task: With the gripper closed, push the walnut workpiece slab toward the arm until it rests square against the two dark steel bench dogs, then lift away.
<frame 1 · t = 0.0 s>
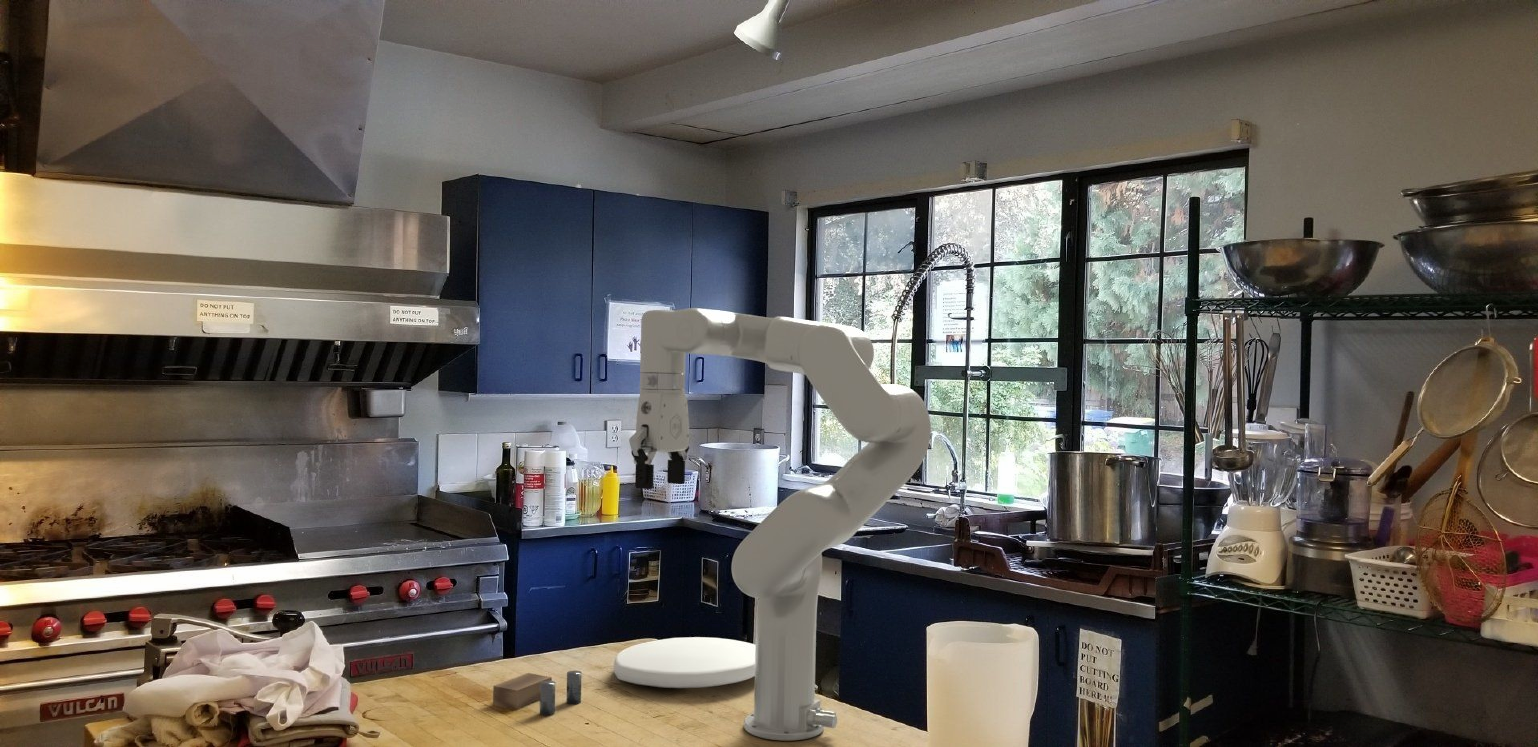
hand: (660, 485, 184), 37 cm above the countertop, tool pointing down, fingers open, 9 cm apart
workpiece: (522, 701, 185), on the countertop
plate: (690, 678, 201), on the countertop
bench dogs: (560, 707, 181), on the countertop
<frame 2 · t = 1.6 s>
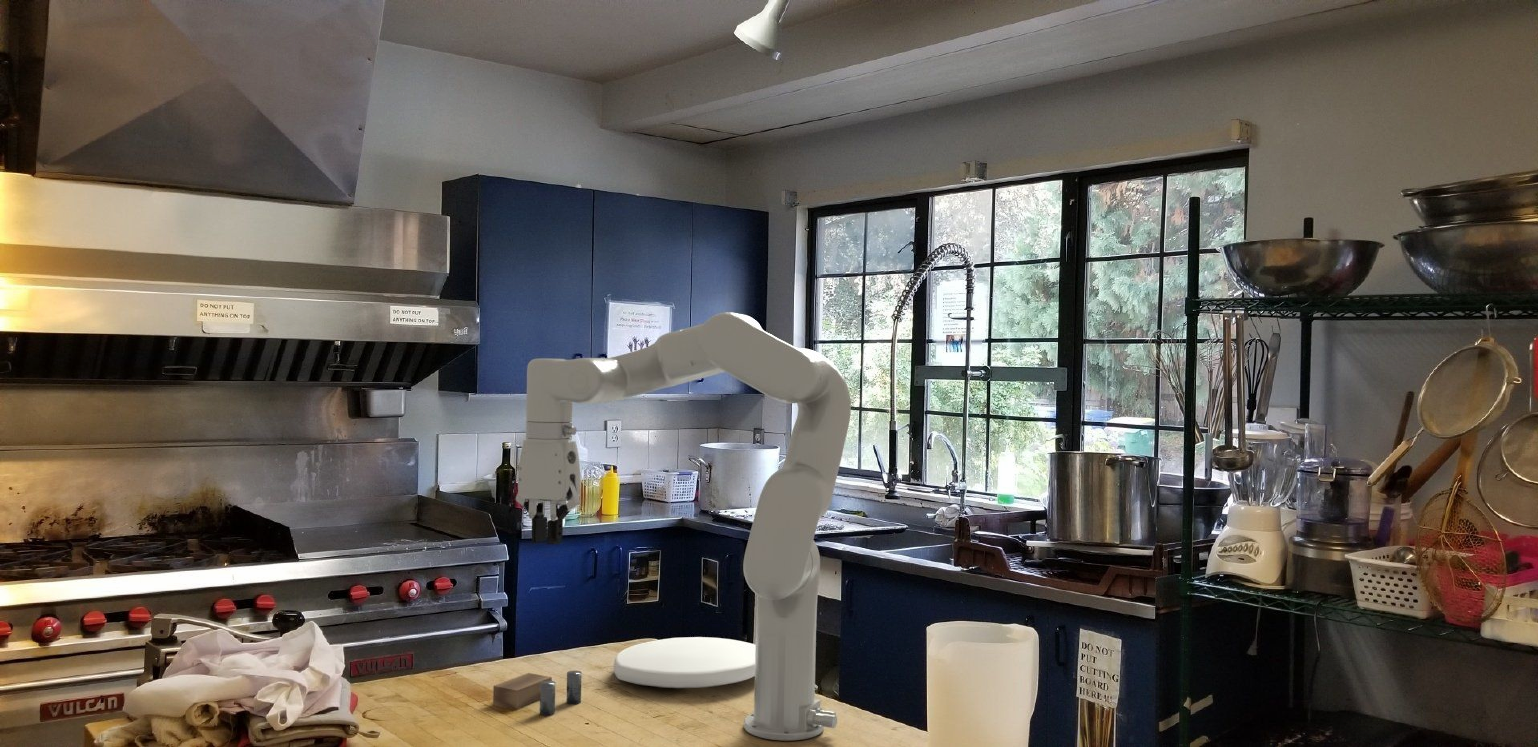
hand: (546, 541, 183), 27 cm above the countertop, tool pointing down, fingers closed
nothing on the countertop moved.
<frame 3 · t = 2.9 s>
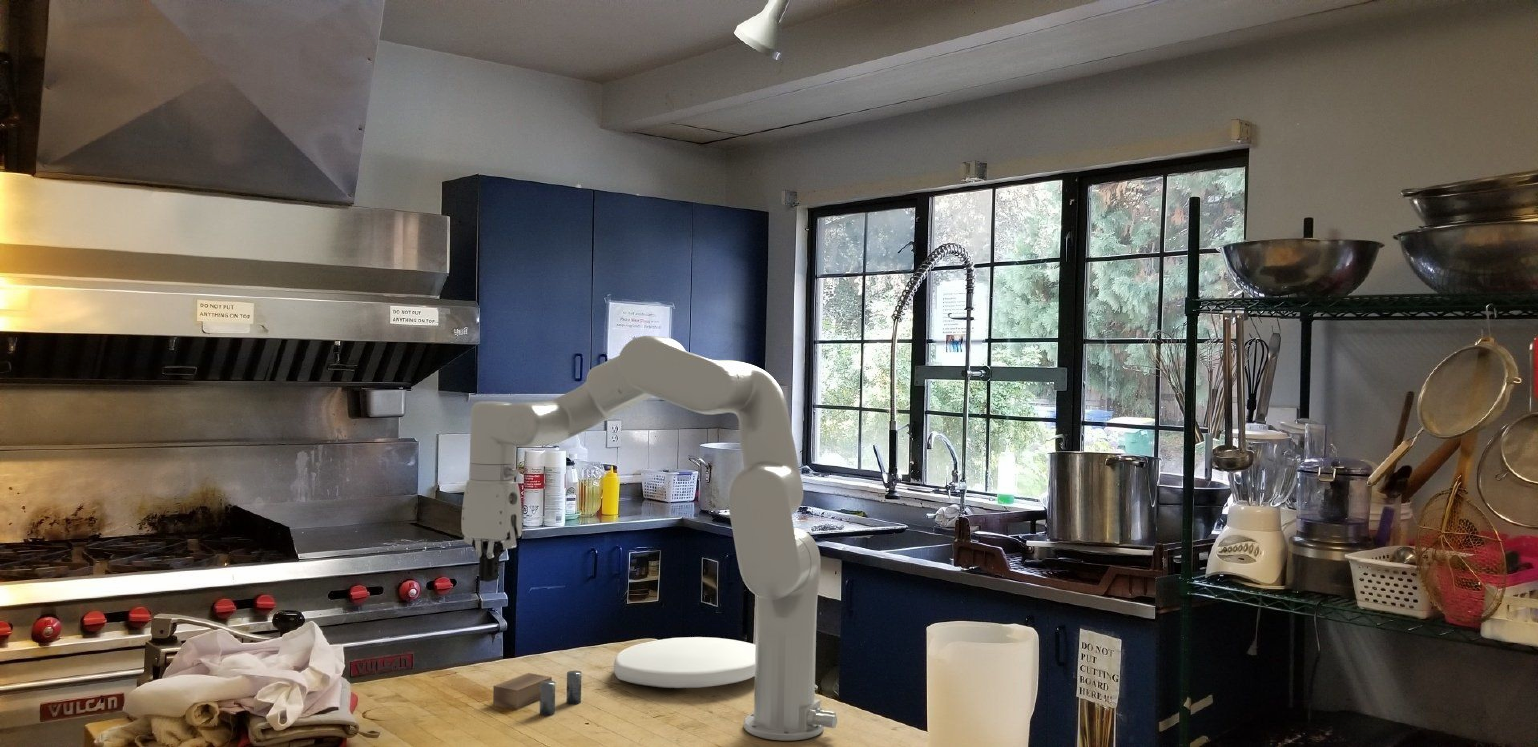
hand: (488, 579, 188), 20 cm above the countertop, tool pointing down, fingers closed
nothing on the countertop moved.
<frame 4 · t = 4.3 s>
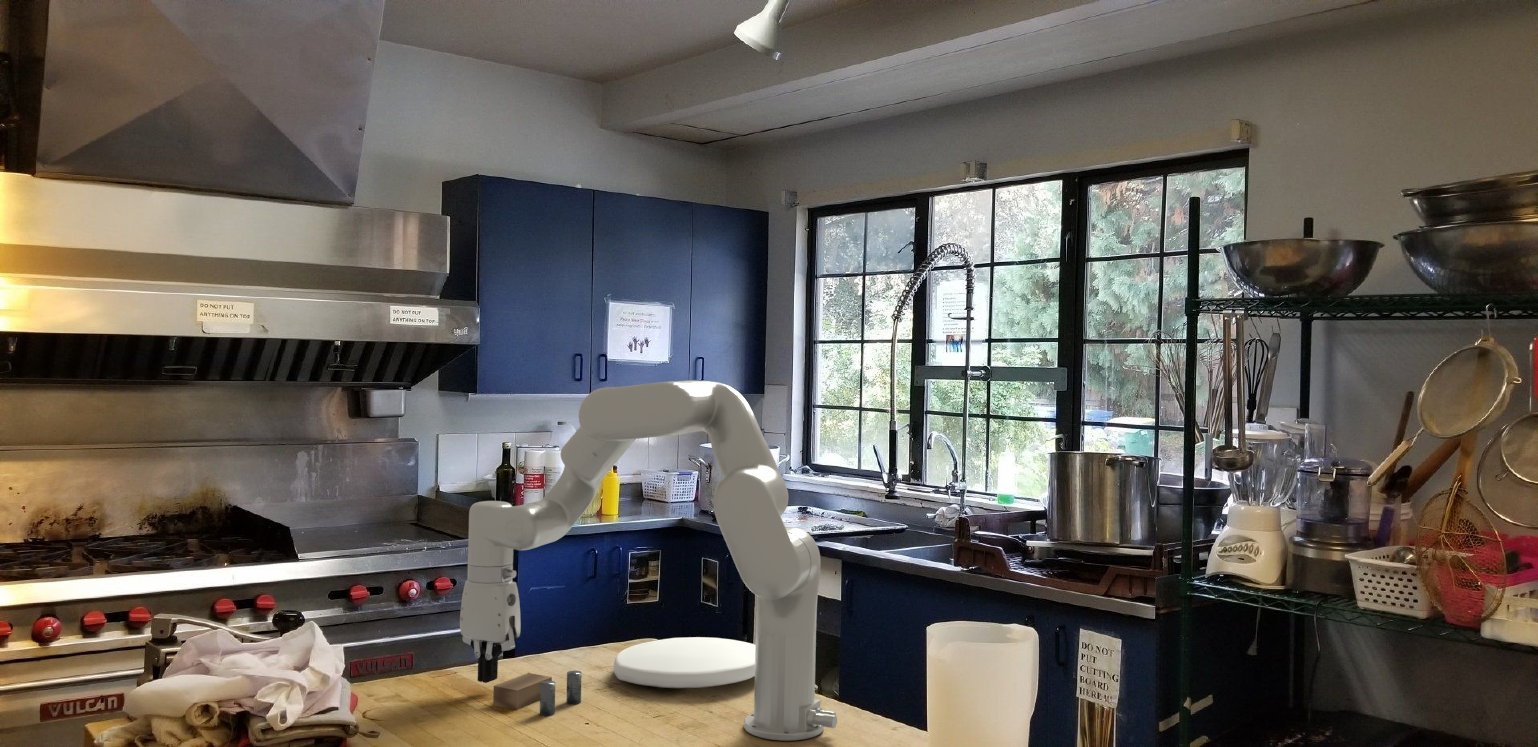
hand: (487, 679, 188), 2 cm above the countertop, tool pointing down, fingers closed
nothing on the countertop moved.
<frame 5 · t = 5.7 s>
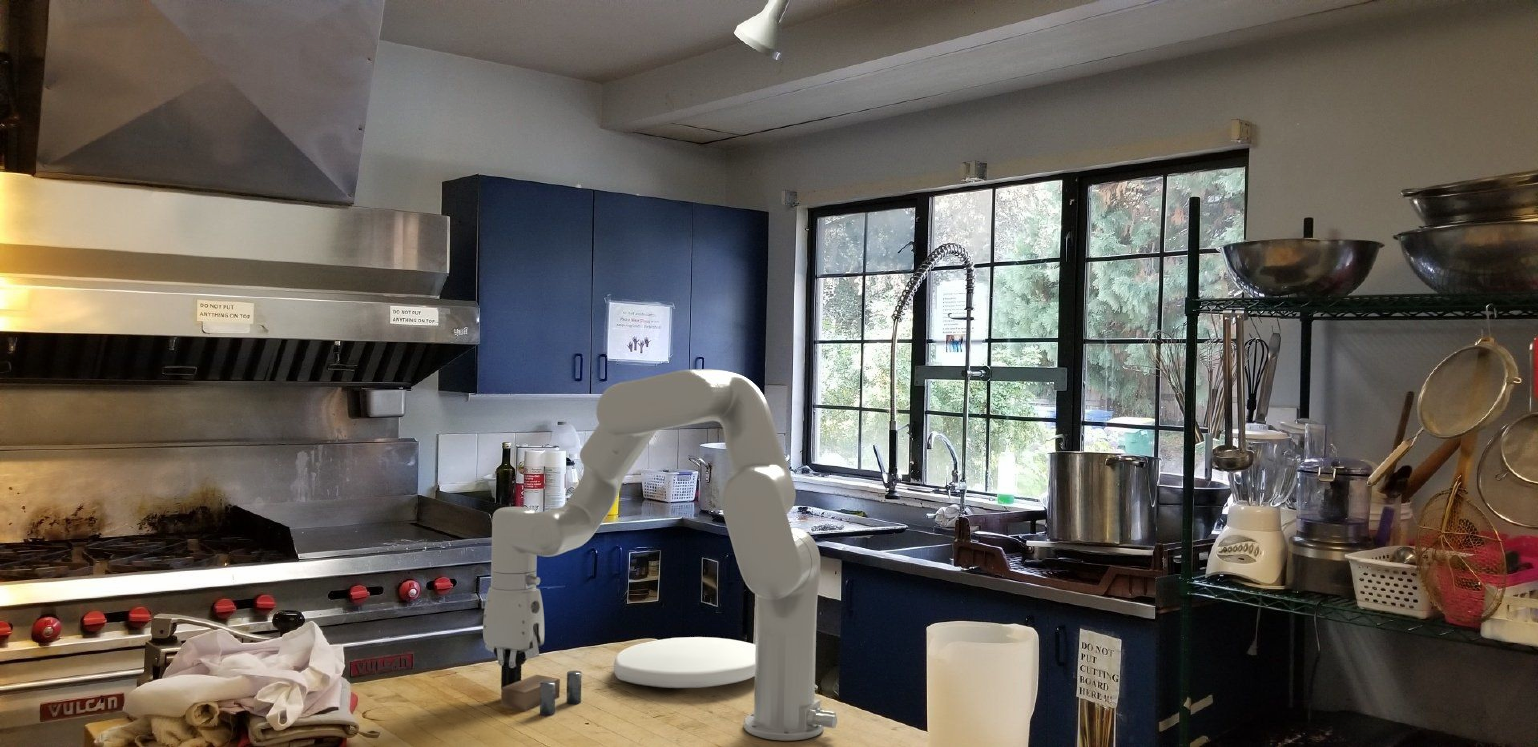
hand: (510, 688, 186), 2 cm above the countertop, tool pointing down, fingers closed
workpiece: (530, 703, 184), on the countertop
everything else where it was.
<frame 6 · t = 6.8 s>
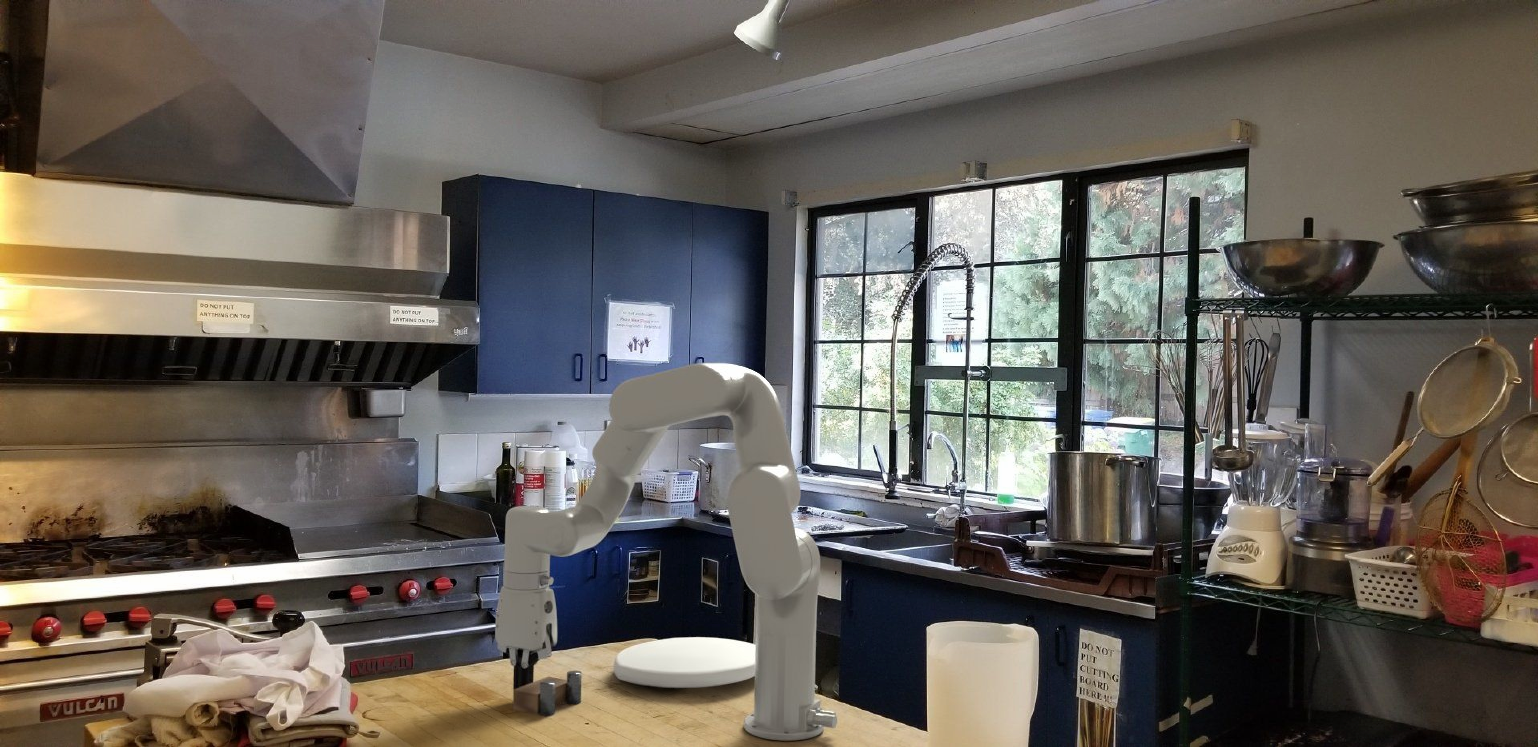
hand: (523, 688, 185), 2 cm above the countertop, tool pointing down, fingers closed
workpiece: (542, 705, 183), on the countertop
everything else where it was.
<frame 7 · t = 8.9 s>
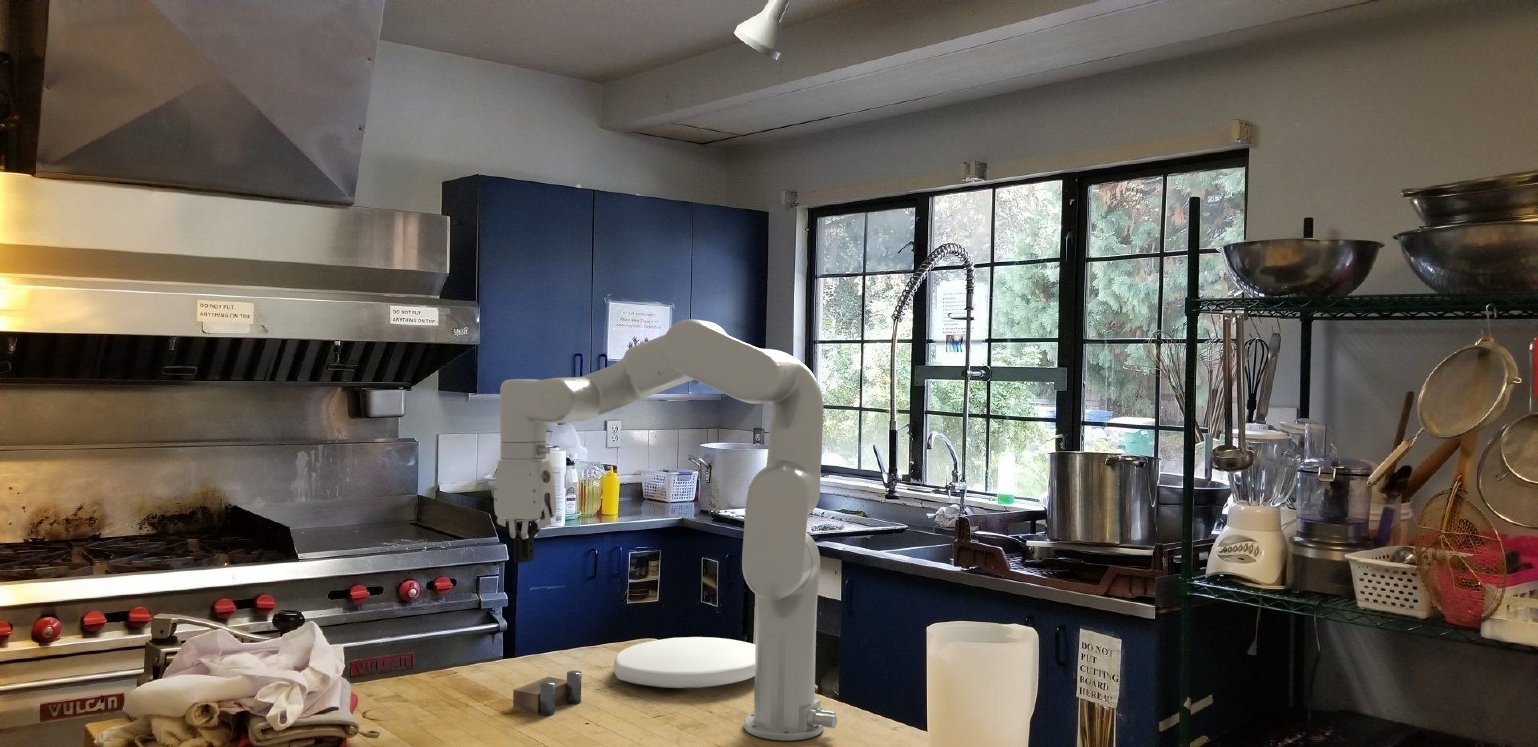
hand: (523, 561, 184), 24 cm above the countertop, tool pointing down, fingers closed
nothing on the countertop moved.
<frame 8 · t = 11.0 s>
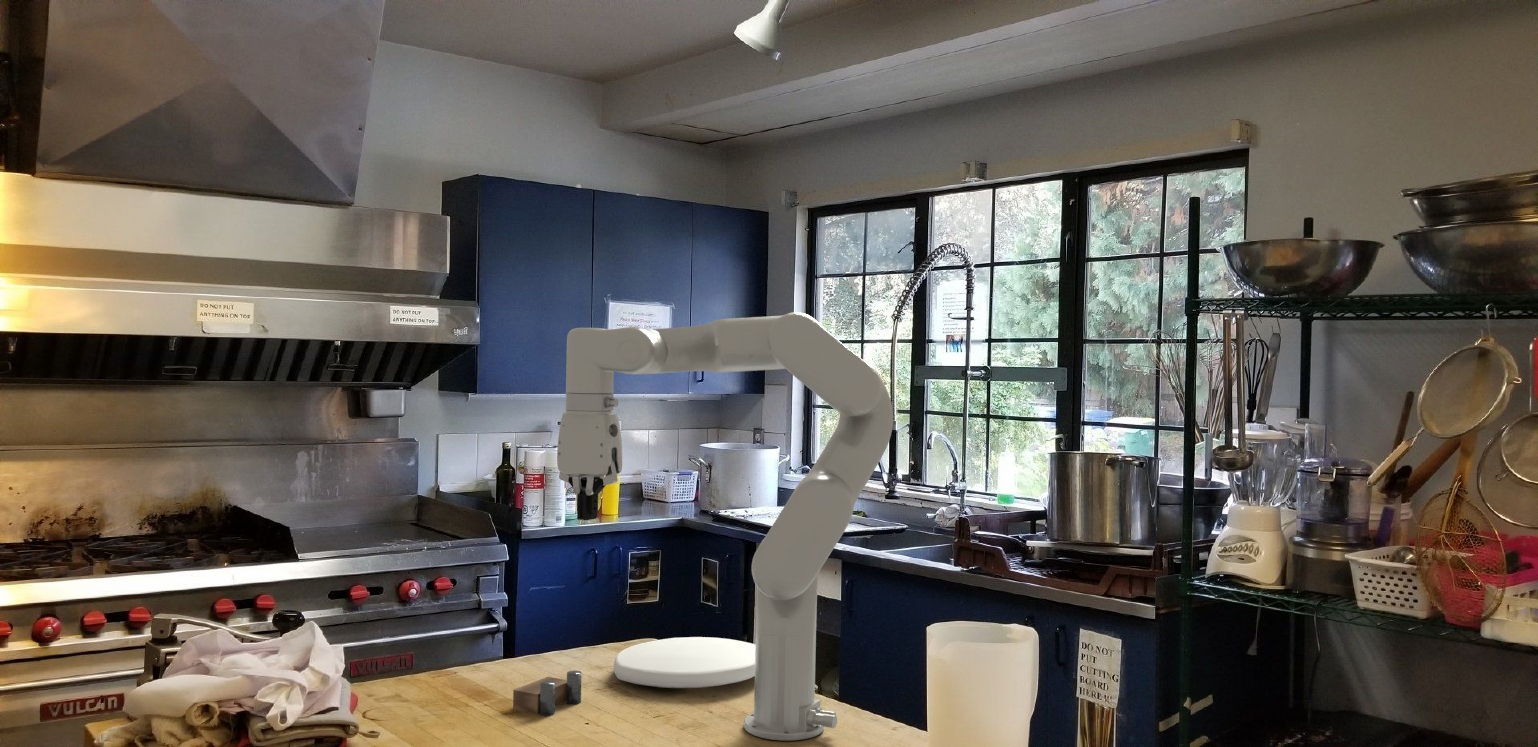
hand: (587, 518, 176), 32 cm above the countertop, tool pointing down, fingers closed
nothing on the countertop moved.
at the end: workpiece 0.8 cm from the target spot, on the countertop; workpiece moved 4.3 cm from its start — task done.
